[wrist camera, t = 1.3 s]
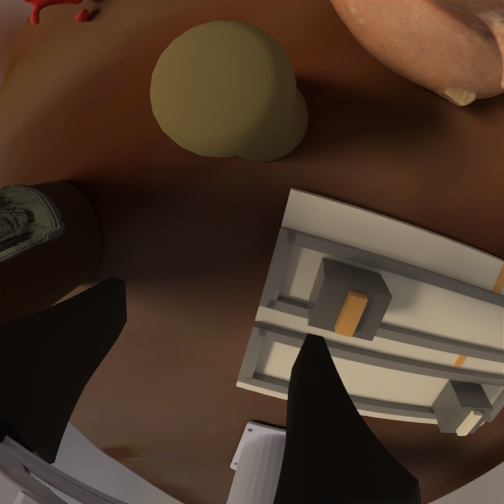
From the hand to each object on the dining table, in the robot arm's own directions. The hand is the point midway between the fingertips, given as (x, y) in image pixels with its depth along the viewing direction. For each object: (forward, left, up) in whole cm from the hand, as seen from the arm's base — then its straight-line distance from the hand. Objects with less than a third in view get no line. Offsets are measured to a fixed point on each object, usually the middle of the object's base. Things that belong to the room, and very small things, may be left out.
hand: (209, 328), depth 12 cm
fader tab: (0, -6, -9) cm, 11 cm away
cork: (+9, +2, -11) cm, 14 cm away
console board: (-3, -14, -11) cm, 18 cm away
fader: (-7, -20, -9) cm, 23 cm away
